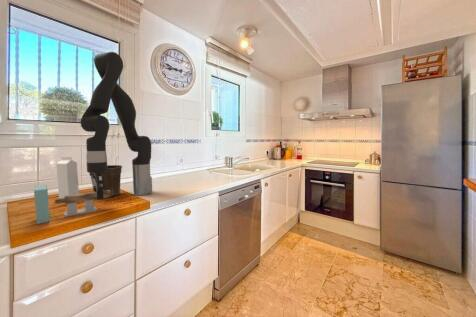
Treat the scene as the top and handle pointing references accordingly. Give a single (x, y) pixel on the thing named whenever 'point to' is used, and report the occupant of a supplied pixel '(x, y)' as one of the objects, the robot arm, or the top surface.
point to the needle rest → (88, 208)
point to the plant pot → (112, 179)
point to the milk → (67, 177)
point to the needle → (81, 197)
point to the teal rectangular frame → (42, 204)
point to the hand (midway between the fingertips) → (98, 197)
